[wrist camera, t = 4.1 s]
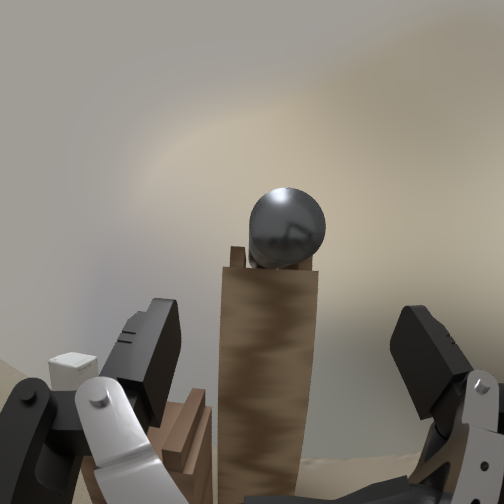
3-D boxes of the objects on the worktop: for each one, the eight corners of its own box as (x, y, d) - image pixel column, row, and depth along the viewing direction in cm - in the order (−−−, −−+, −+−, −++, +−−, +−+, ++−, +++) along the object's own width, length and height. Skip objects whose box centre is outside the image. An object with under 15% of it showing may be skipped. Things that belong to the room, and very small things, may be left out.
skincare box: (89, 448, 34) (76, 368, 35) (59, 437, 34) (45, 359, 35) (107, 428, 42) (99, 355, 43) (79, 420, 42) (70, 349, 43)
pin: (275, 273, 35) (276, 245, 36) (324, 265, 13) (325, 190, 13) (247, 271, 35) (249, 243, 36) (247, 261, 12) (251, 185, 13)
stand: (272, 480, 33) (290, 261, 36) (281, 548, 18) (319, 250, 21) (226, 479, 33) (233, 258, 36) (219, 547, 18) (223, 246, 21)
